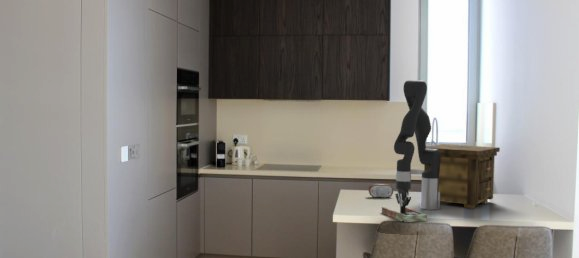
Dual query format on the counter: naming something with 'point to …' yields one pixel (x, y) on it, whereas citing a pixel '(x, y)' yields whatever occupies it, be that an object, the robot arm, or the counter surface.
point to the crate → (465, 173)
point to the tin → (380, 190)
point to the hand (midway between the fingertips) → (402, 213)
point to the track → (405, 217)
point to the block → (411, 213)
